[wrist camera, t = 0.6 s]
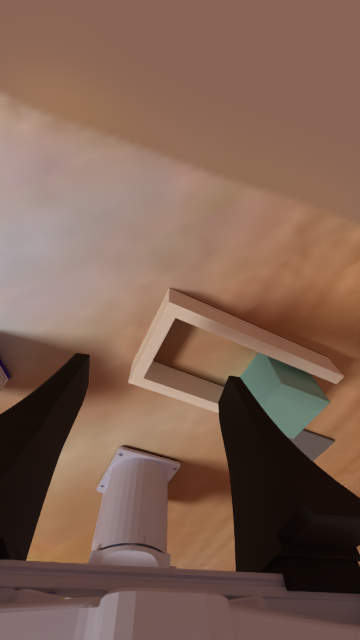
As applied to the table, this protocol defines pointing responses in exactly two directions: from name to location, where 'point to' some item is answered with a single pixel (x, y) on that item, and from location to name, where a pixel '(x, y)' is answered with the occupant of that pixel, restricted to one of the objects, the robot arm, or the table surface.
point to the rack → (222, 325)
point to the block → (284, 393)
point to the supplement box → (4, 374)
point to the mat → (312, 443)
